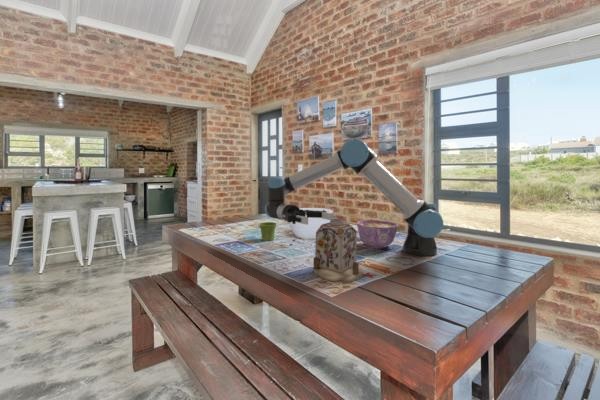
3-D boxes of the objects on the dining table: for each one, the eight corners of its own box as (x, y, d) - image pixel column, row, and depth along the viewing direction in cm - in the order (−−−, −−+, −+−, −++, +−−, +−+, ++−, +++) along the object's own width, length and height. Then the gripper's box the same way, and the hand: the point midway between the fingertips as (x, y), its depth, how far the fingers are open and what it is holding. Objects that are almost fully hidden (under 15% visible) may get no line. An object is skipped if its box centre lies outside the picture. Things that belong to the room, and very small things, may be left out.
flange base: (354, 264, 130) (354, 250, 130) (369, 280, 113) (370, 264, 112) (309, 266, 128) (309, 251, 127) (318, 282, 110) (318, 265, 109)
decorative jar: (330, 259, 130) (331, 215, 128) (356, 265, 123) (358, 219, 121) (313, 267, 120) (314, 219, 118) (341, 273, 113) (342, 223, 111)
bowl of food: (387, 254, 146) (388, 229, 145) (348, 247, 158) (349, 223, 157) (403, 245, 162) (404, 223, 160) (366, 239, 174) (367, 218, 172)
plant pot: (268, 242, 165) (268, 226, 164) (255, 240, 170) (255, 223, 169) (280, 239, 172) (280, 223, 171) (267, 236, 178) (267, 221, 177)
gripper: (310, 218, 151) (343, 224, 134) (265, 224, 135) (295, 232, 119) (310, 202, 150) (343, 206, 133) (264, 206, 134) (295, 212, 118)
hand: (320, 219), depth 126 cm, fingers open, 13 cm apart
